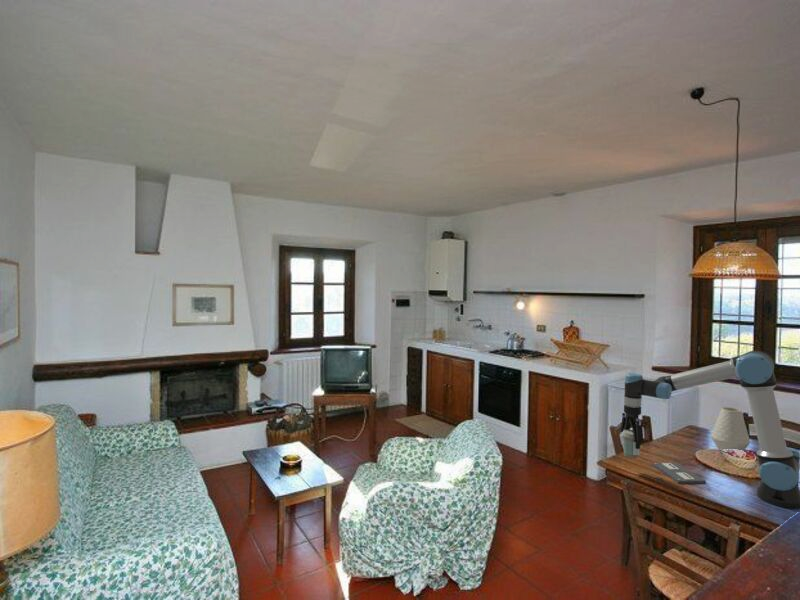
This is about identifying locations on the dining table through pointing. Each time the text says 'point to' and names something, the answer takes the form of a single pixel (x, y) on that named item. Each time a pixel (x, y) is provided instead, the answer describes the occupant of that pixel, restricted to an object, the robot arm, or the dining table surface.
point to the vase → (730, 430)
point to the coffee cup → (628, 443)
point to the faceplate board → (678, 473)
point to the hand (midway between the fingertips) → (630, 450)
